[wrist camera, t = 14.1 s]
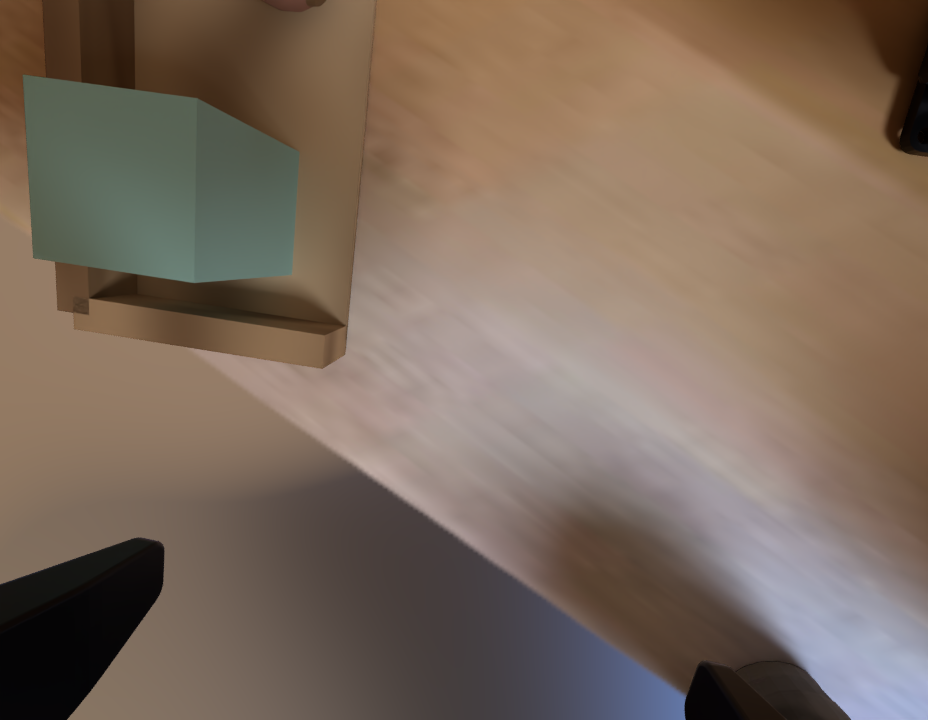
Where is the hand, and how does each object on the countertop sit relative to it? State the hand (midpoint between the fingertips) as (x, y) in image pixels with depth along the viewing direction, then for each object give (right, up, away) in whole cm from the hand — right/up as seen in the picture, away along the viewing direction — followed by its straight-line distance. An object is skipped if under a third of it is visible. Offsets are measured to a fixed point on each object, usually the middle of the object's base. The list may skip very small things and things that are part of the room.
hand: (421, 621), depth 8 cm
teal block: (-8, +10, +10) cm, 16 cm away
